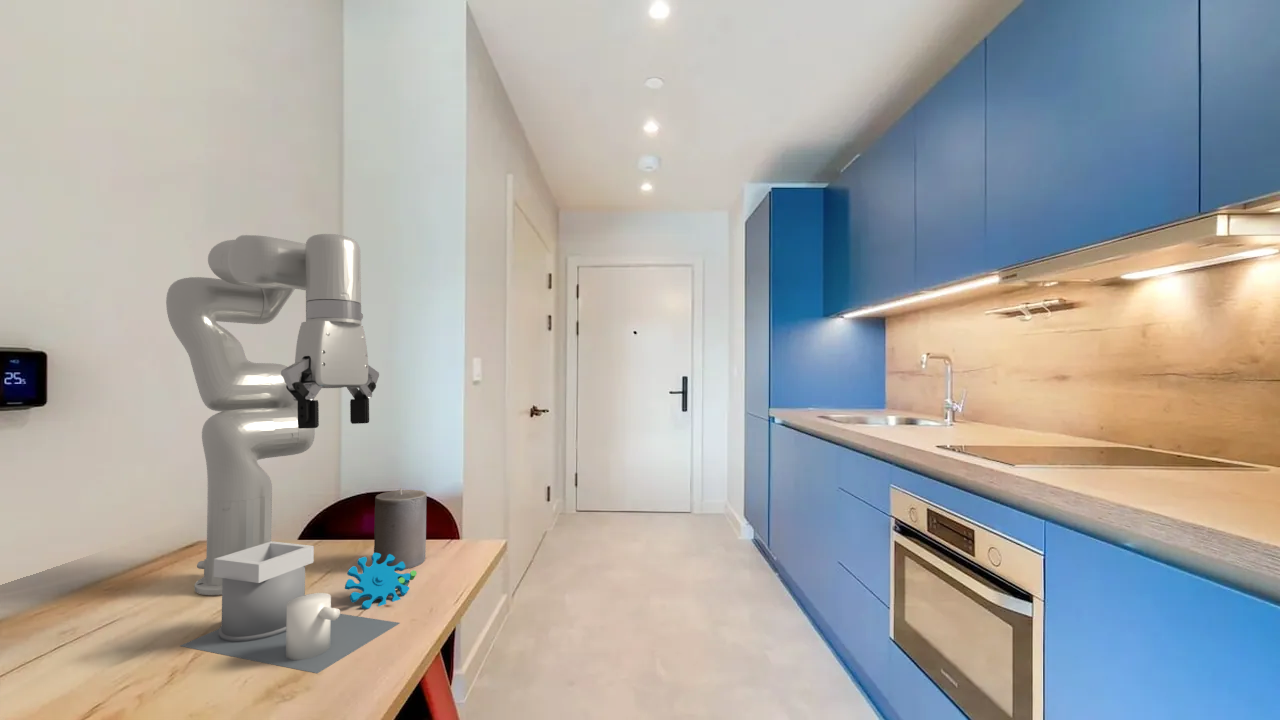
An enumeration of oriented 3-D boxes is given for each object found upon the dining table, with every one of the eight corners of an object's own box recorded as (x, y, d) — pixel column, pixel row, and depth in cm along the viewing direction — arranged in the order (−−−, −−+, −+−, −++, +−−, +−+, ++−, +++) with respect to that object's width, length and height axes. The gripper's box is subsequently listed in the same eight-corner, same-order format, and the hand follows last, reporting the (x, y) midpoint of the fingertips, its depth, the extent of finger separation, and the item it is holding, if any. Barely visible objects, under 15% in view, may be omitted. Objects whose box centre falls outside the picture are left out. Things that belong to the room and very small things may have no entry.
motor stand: (178, 652, 72) (180, 567, 73) (275, 610, 86) (276, 537, 86) (317, 681, 65) (318, 586, 66) (400, 629, 79) (400, 550, 79)
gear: (349, 611, 81) (345, 552, 87) (338, 631, 84) (335, 572, 90) (422, 601, 88) (414, 547, 95) (410, 619, 91) (402, 566, 97)
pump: (276, 656, 69) (277, 605, 69) (310, 638, 74) (311, 591, 74) (318, 664, 67) (319, 612, 67) (350, 645, 72) (351, 597, 72)
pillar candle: (362, 567, 105) (363, 490, 106) (401, 552, 114) (402, 481, 115) (399, 574, 101) (400, 495, 102) (436, 558, 110) (437, 485, 111)
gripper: (357, 323, 93) (359, 422, 92) (263, 310, 76) (263, 430, 75) (393, 320, 91) (395, 421, 90) (304, 305, 74) (306, 429, 73)
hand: (335, 425), depth 82 cm, fingers open, 9 cm apart
